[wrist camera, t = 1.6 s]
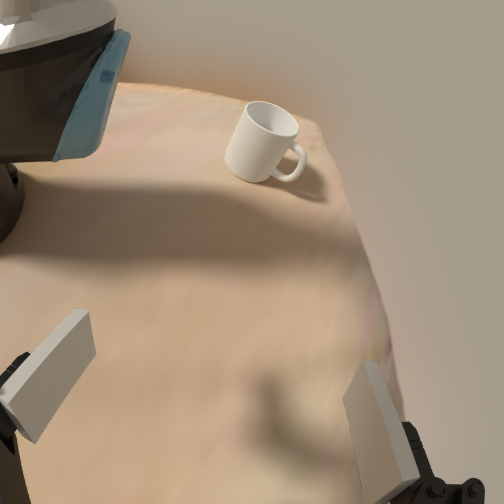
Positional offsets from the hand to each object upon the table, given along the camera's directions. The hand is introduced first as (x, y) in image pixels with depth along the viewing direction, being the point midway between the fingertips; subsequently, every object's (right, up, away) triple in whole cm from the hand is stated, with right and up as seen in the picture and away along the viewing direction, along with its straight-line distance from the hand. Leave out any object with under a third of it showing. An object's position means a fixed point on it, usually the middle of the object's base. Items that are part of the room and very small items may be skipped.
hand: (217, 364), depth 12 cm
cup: (+2, +18, +33) cm, 38 cm away
